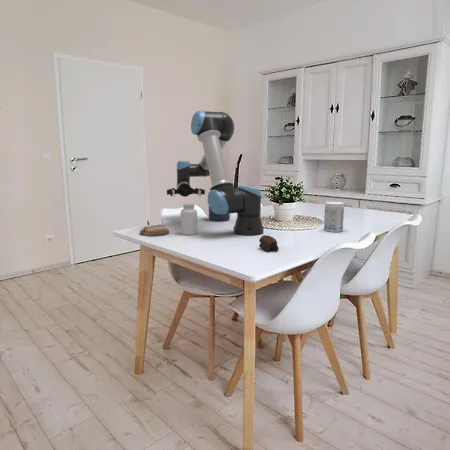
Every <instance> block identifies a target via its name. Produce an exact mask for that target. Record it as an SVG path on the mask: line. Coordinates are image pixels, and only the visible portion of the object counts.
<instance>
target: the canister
mask: <svg viewBox="0 0 450 450" xmlns="http://www.w3.org/2000/svg"><path fill="white" fill-rule="evenodd" d="M208 220H209V221H212V222H228V221H230V220H231V213H230V214H215V213H214V212H212V210H211V209H210V207H209V206H208Z"/></svg>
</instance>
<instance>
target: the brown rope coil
mask: <svg viewBox="0 0 450 450" xmlns="http://www.w3.org/2000/svg"><path fill="white" fill-rule="evenodd" d="M139 233H140V234H139V235H141V236H144V237H161V236H166V235H169V234H170V228H167V227H166V226H165V225H155V224H154V225H146V226H143V227H142V229H140V232H139Z"/></svg>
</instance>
